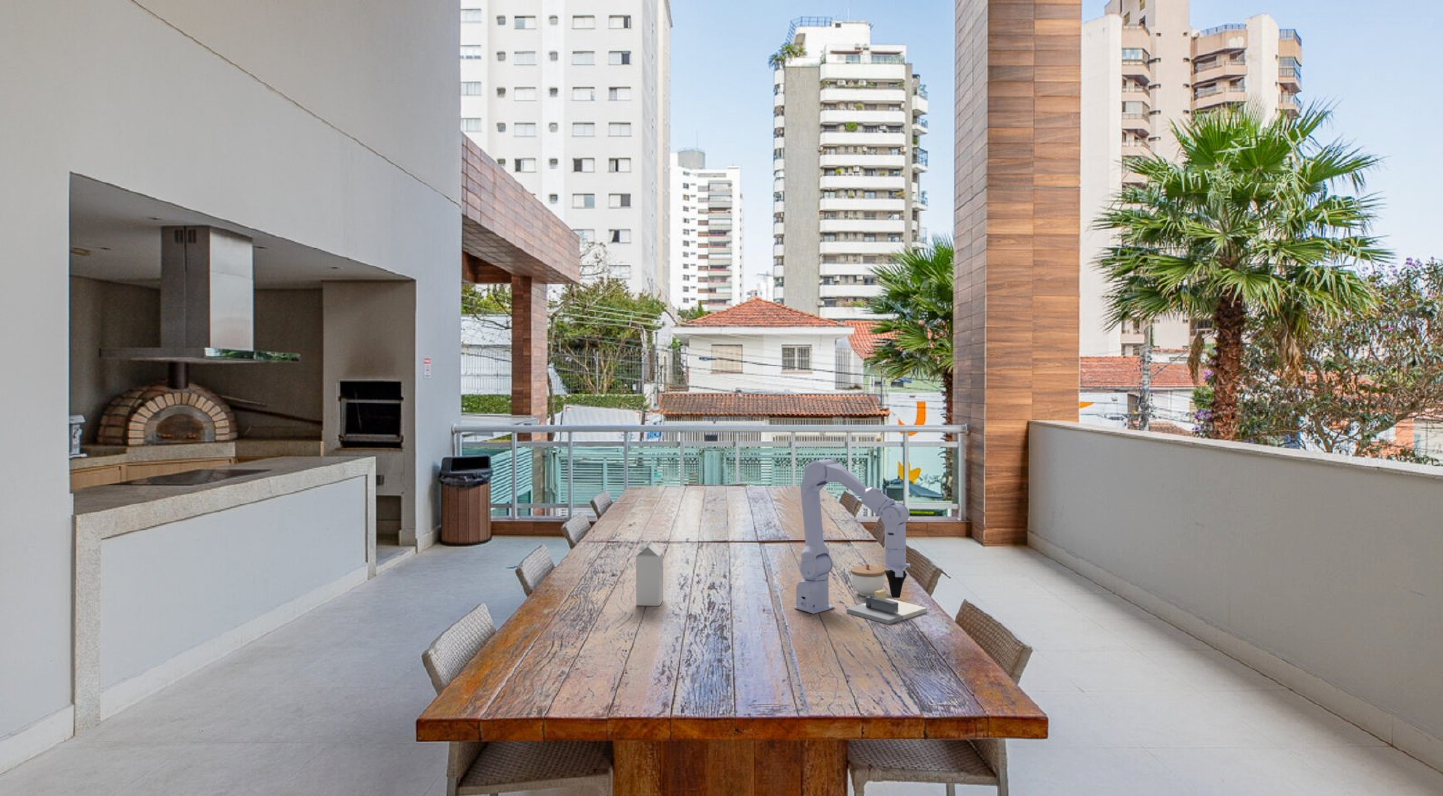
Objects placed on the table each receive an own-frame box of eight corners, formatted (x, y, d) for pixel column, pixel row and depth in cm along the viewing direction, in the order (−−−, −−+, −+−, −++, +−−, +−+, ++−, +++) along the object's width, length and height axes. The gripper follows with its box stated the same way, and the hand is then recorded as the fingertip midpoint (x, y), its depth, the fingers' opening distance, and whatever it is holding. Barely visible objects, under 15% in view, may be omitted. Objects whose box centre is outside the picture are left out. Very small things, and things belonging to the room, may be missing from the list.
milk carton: (663, 600, 235) (663, 538, 235) (659, 606, 228) (659, 543, 228) (640, 599, 236) (640, 538, 236) (635, 605, 229) (635, 542, 229)
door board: (888, 624, 210) (888, 609, 210) (846, 612, 221) (846, 598, 221) (927, 611, 221) (927, 598, 221) (885, 601, 233) (885, 588, 233)
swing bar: (863, 606, 222) (863, 596, 222) (869, 604, 224) (869, 594, 224) (893, 614, 214) (892, 604, 214) (899, 612, 216) (899, 602, 216)
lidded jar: (888, 598, 236) (888, 568, 236) (853, 598, 236) (853, 568, 236) (881, 589, 247) (881, 560, 247) (848, 589, 247) (848, 560, 247)
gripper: (914, 553, 203) (914, 604, 203) (905, 542, 217) (906, 590, 217) (887, 553, 203) (888, 604, 203) (880, 542, 218) (881, 590, 218)
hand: (895, 597), depth 210 cm, fingers closed
